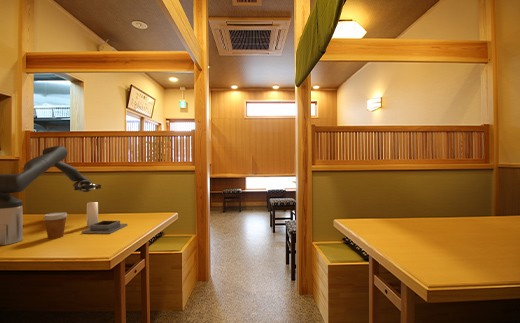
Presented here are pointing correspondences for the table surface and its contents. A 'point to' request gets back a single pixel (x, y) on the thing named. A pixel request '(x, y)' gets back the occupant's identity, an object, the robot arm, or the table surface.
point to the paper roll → (92, 213)
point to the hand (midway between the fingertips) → (89, 188)
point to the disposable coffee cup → (55, 224)
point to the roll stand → (105, 227)
